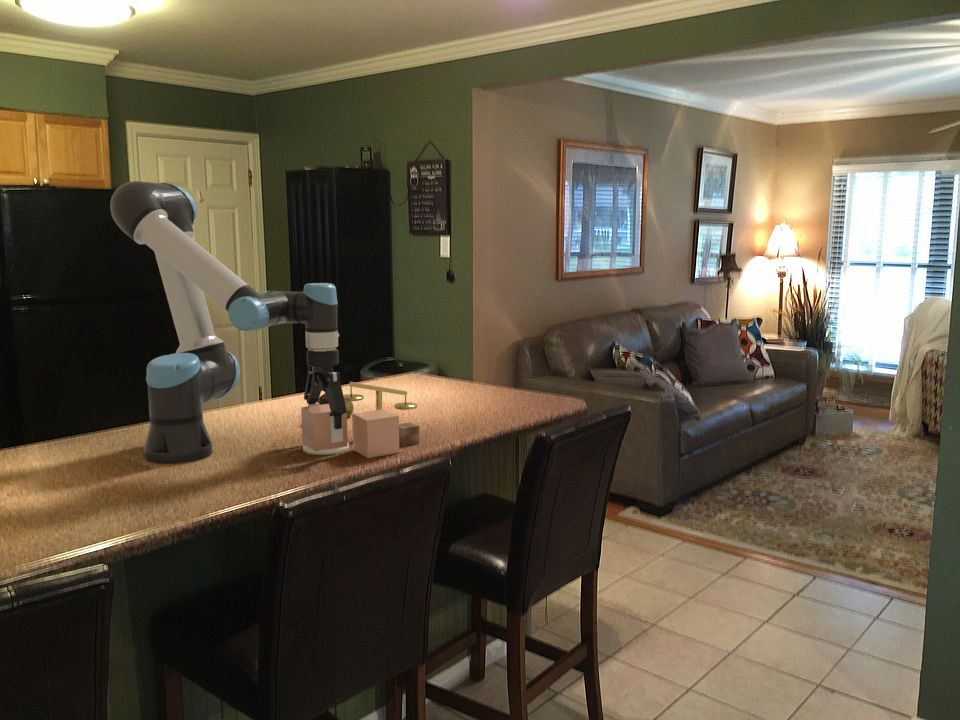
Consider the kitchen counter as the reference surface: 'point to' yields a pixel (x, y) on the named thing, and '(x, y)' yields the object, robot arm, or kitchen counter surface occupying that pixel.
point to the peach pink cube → (320, 428)
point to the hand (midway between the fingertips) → (325, 435)
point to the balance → (379, 396)
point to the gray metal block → (408, 434)
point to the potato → (348, 404)
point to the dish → (325, 452)
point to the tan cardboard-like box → (375, 433)
